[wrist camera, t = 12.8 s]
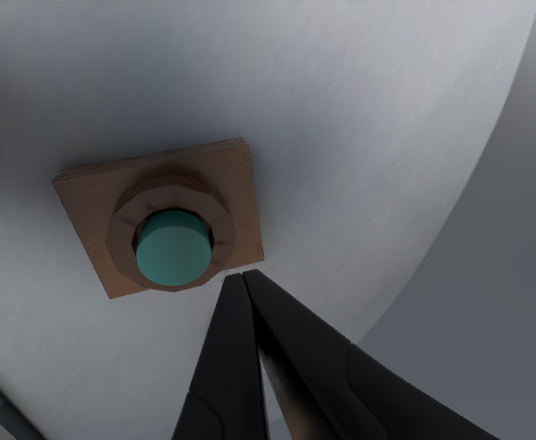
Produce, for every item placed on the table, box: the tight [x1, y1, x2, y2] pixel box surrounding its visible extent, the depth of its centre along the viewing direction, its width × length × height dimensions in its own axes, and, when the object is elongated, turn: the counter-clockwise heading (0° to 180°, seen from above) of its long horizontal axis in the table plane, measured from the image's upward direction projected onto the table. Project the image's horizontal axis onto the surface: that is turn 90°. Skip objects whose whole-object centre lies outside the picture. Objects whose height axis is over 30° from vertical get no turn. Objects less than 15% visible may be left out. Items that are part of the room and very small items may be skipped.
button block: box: [52, 138, 264, 299], centre depth 18 cm, size 10×8×4 cm
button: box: [136, 210, 211, 286], centre depth 16 cm, size 4×4×2 cm
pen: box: [0, 396, 42, 440], centre depth 25 cm, size 1×16×1 cm, turn 6°
